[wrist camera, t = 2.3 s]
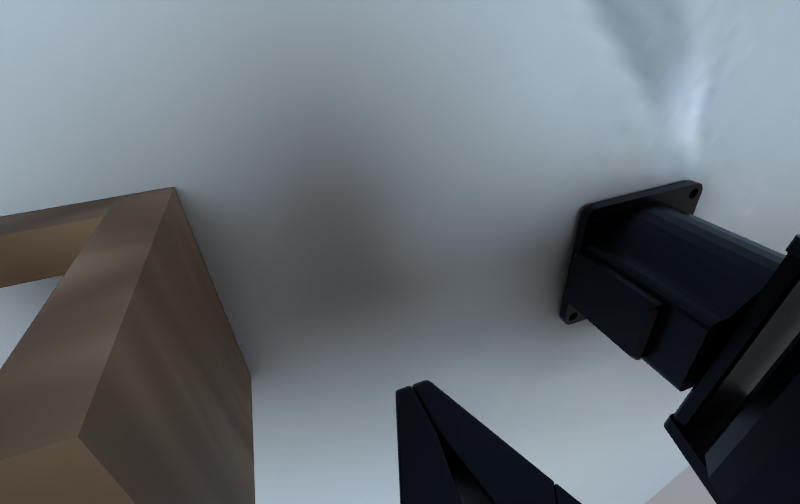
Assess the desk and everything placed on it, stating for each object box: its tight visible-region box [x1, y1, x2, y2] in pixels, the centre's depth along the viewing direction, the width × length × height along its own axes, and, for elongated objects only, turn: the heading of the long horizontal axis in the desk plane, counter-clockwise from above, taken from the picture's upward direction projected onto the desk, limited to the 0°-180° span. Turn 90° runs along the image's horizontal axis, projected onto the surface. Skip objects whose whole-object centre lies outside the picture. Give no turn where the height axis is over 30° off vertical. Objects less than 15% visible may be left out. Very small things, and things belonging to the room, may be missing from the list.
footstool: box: [0, 187, 255, 504], centre depth 9 cm, size 5×8×8 cm, turn 6°
